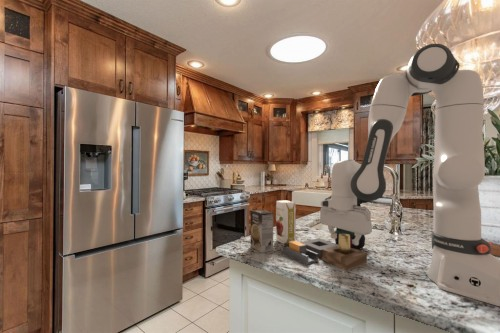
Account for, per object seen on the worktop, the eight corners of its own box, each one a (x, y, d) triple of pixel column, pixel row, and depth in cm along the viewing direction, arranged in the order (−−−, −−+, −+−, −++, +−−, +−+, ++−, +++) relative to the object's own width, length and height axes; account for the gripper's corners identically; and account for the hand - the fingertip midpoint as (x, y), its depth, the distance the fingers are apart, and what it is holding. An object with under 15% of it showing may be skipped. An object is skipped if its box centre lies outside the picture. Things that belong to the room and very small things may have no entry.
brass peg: (352, 259, 89) (352, 235, 89) (345, 262, 87) (345, 237, 87) (343, 256, 92) (343, 232, 92) (336, 258, 90) (336, 234, 90)
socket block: (339, 252, 99) (339, 245, 99) (320, 257, 94) (320, 250, 94) (318, 244, 109) (318, 238, 109) (300, 249, 103) (300, 242, 103)
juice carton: (287, 238, 119) (287, 199, 119) (298, 243, 112) (297, 201, 112) (274, 240, 116) (274, 200, 116) (284, 245, 108) (284, 203, 108)
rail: (318, 261, 90) (318, 250, 90) (306, 265, 87) (306, 253, 87) (293, 250, 102) (293, 240, 102) (282, 253, 99) (282, 243, 99)
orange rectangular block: (306, 255, 93) (306, 244, 93) (300, 256, 92) (300, 246, 92) (294, 250, 99) (294, 240, 99) (289, 251, 97) (289, 241, 97)
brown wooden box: (366, 263, 88) (366, 252, 88) (347, 270, 82) (347, 258, 82) (341, 254, 97) (341, 244, 97) (322, 259, 92) (322, 249, 92)
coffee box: (249, 246, 107) (249, 210, 107) (262, 244, 110) (261, 208, 110) (261, 253, 99) (261, 213, 99) (273, 250, 102) (273, 212, 102)
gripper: (375, 207, 82) (376, 247, 82) (328, 200, 100) (328, 233, 100) (364, 208, 79) (364, 251, 79) (317, 201, 97) (317, 235, 97)
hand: (344, 241), depth 90 cm, fingers open, 8 cm apart
